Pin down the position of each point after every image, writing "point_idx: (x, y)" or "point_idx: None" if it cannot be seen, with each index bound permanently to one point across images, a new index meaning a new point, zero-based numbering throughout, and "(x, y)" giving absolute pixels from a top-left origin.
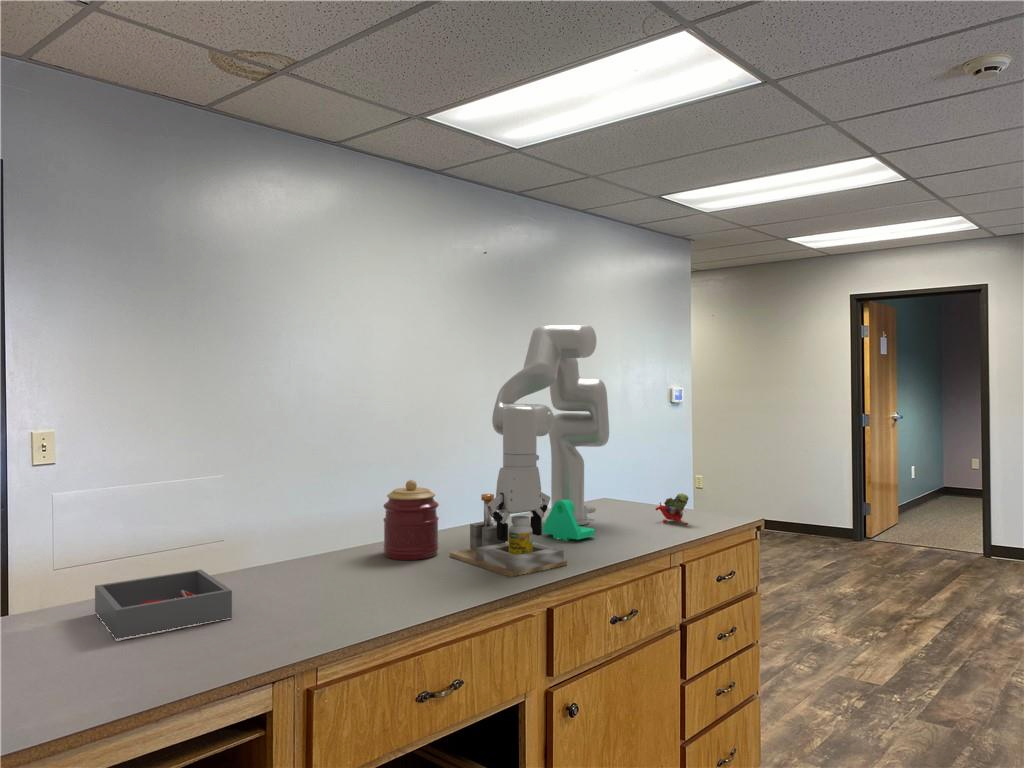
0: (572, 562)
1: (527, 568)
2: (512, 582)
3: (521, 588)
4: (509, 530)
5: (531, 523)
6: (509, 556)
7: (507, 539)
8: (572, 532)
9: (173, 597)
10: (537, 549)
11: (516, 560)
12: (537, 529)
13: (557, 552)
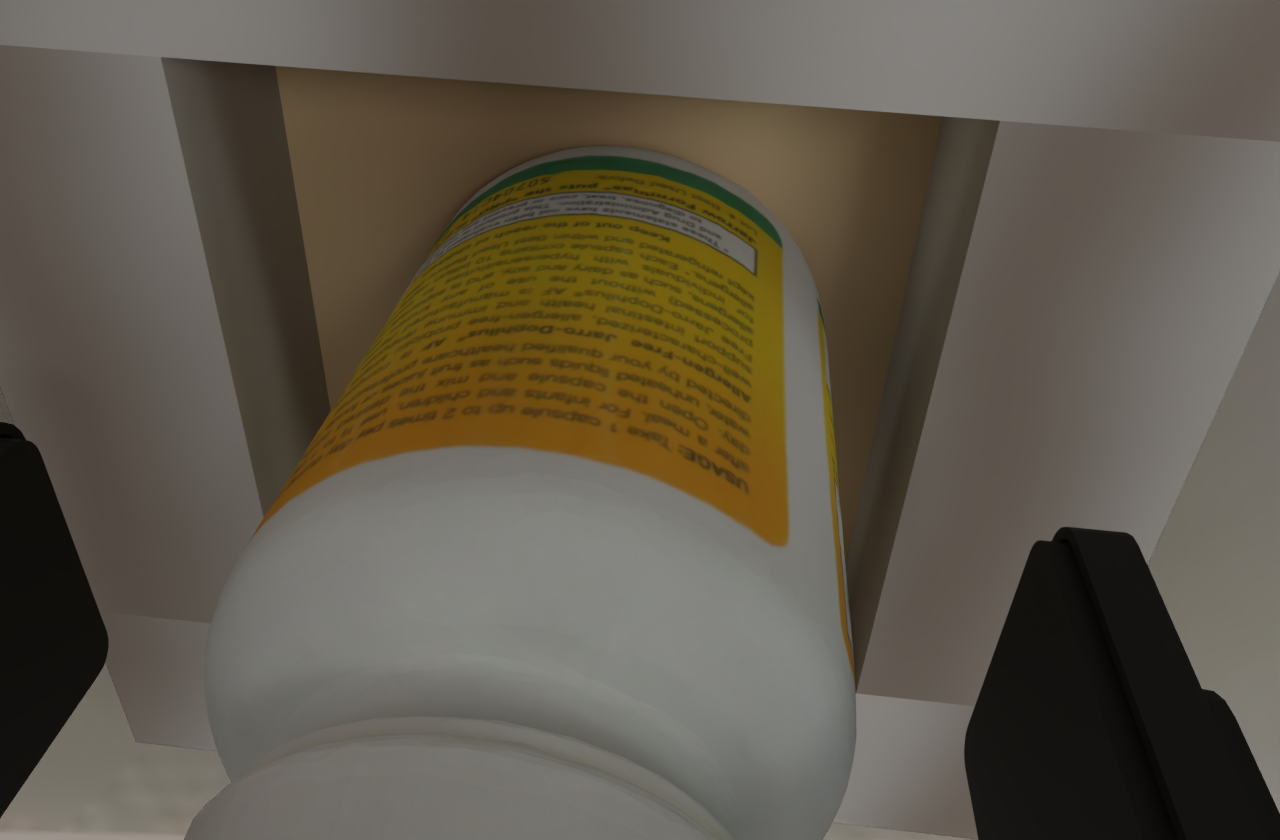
0: (1226, 640)
1: None
2: (111, 682)
3: (106, 804)
4: (212, 628)
5: (1101, 785)
6: (147, 619)
7: (78, 680)
8: None
9: None
10: (887, 538)
11: (170, 735)
12: (992, 833)
13: (896, 817)
